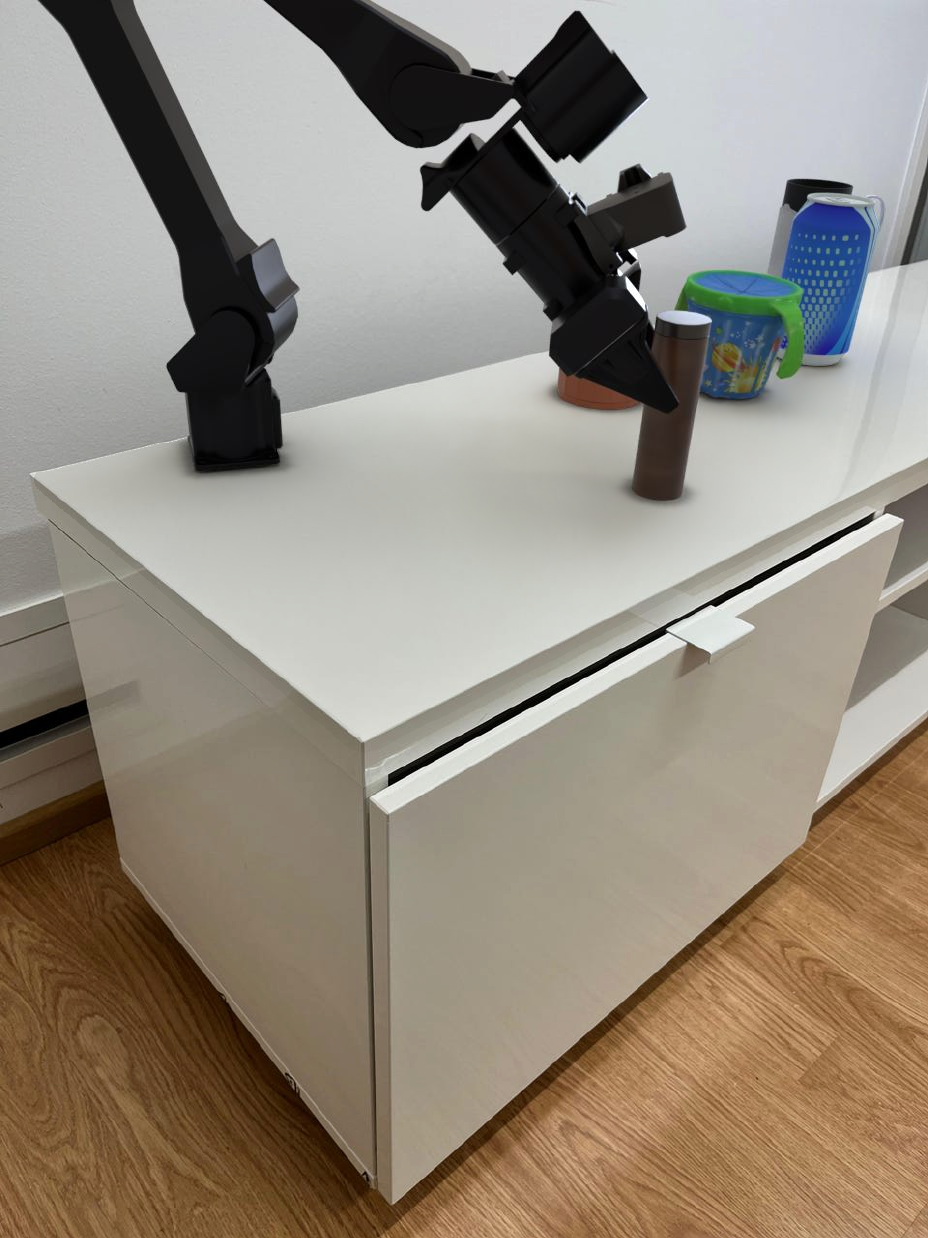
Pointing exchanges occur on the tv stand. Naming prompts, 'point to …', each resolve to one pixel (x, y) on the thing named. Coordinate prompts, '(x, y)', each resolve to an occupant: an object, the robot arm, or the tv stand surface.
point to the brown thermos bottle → (670, 434)
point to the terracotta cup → (590, 394)
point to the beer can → (830, 270)
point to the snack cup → (745, 328)
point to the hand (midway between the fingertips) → (669, 387)
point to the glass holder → (791, 206)
